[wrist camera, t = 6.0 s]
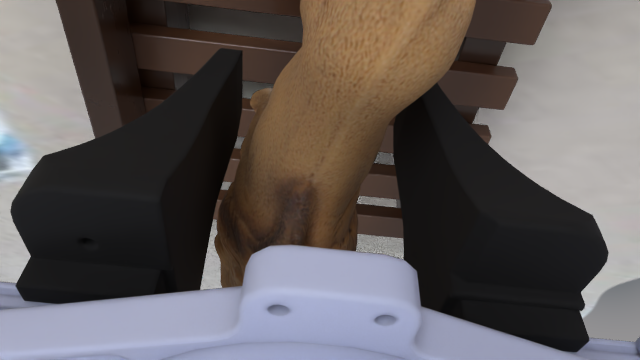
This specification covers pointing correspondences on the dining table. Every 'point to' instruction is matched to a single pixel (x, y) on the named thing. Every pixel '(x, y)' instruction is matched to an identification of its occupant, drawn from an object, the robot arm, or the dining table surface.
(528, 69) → the dining table surface
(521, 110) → the dining table surface
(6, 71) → the dining table surface
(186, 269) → the robot arm
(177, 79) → the rack
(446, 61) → the lion figurine
